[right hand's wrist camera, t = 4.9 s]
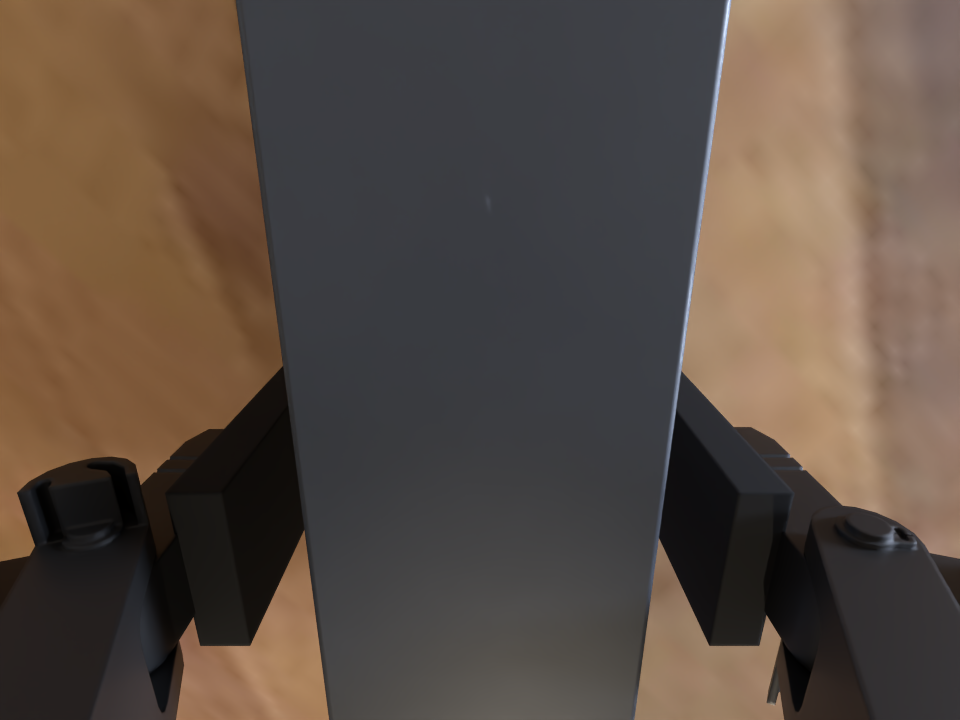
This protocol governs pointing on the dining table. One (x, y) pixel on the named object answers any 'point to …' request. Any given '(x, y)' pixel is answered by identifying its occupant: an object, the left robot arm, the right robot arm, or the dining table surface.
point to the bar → (482, 331)
